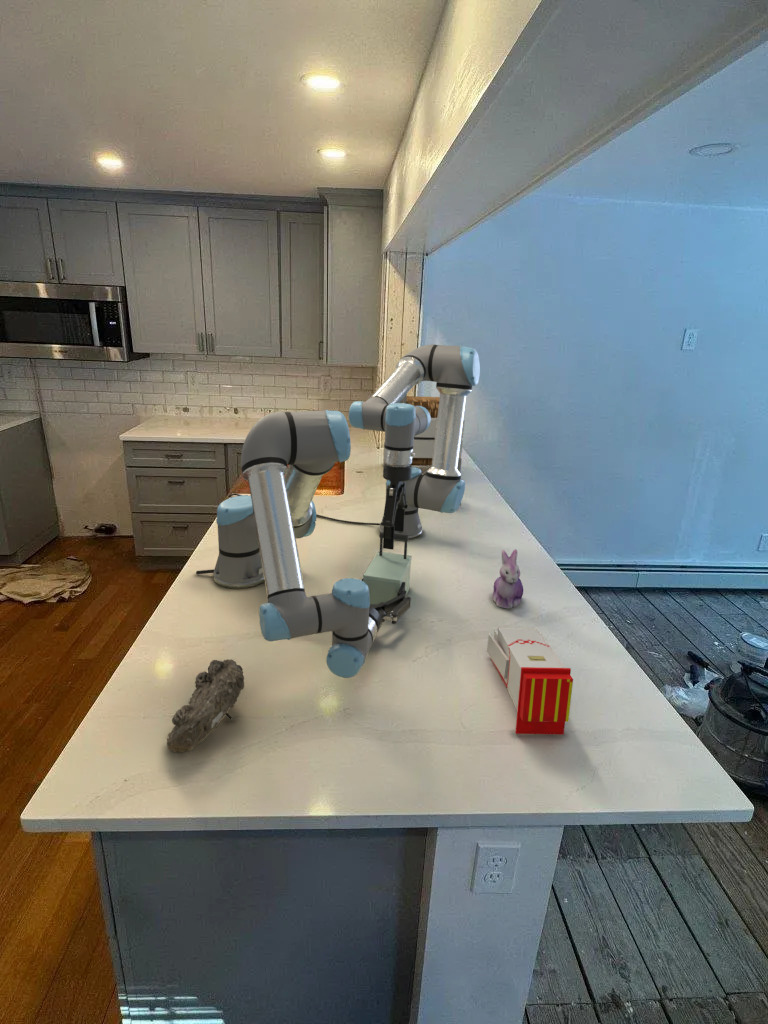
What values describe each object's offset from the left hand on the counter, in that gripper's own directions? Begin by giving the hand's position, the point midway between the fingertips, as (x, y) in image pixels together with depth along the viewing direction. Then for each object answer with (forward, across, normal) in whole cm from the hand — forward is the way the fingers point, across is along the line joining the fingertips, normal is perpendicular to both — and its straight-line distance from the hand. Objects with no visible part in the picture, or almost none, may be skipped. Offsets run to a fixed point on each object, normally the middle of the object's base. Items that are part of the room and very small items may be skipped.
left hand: (384, 583), depth 149 cm
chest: (+4, 0, -6) cm, 8 cm away
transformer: (+132, -13, -6) cm, 132 cm away
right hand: (+10, 0, +9) cm, 13 cm away
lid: (+4, 0, +2) cm, 5 cm away
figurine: (+12, +32, -6) cm, 35 cm away
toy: (-26, +36, -6) cm, 45 cm away
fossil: (-52, -21, -6) cm, 56 cm away
